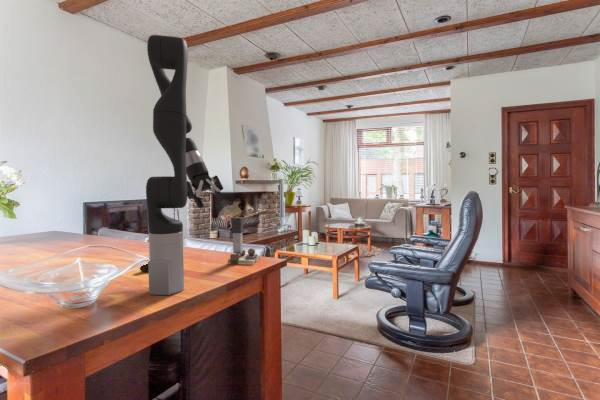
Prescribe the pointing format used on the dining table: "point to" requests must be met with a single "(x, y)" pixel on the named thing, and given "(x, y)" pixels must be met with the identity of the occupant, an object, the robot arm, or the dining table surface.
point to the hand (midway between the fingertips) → (211, 205)
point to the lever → (237, 235)
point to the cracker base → (244, 258)
